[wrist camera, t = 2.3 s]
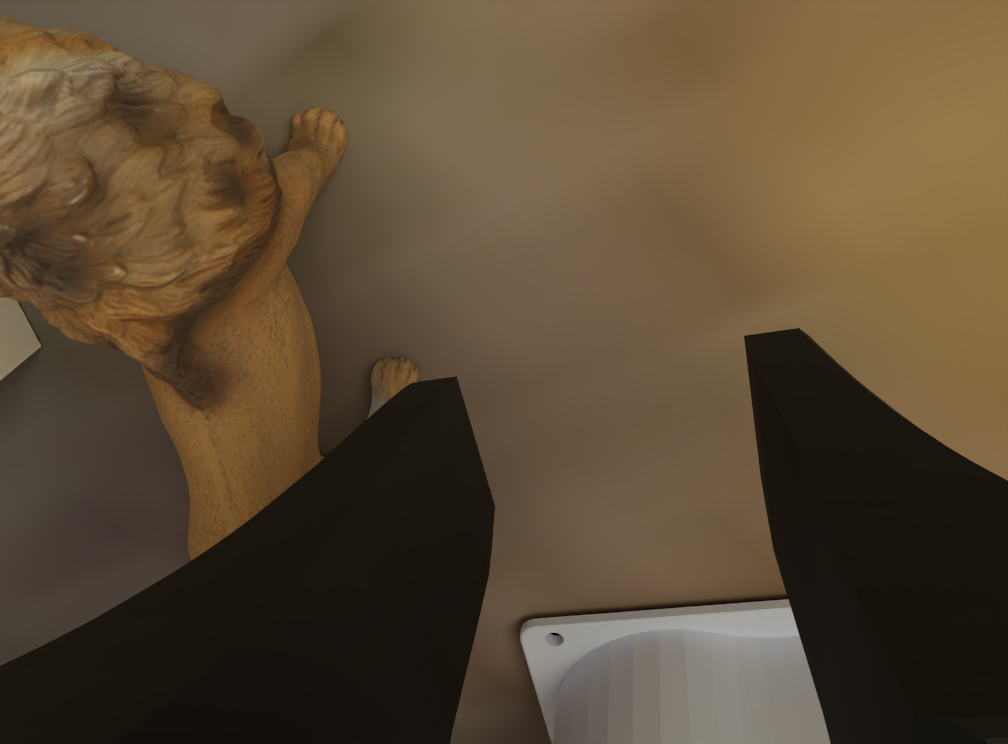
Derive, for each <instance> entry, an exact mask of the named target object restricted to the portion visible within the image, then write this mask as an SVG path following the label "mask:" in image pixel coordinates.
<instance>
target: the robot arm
mask: <svg viewBox="0 0 1008 744" xmlns="http://www.w3.org/2000/svg"><path fill="white" fill-rule="evenodd" d="M744 339H745V347H746V356H747V364H748V373H749V381H750V389H751V398H752V406H753V415H754V423H755V431H756V440H757V448H758V457H759V465H760V474H761V481H762V486H763V492H764V498H765V504H766V510H767V515H768V521H769V527H770V532H771V538H772V544H773V549H774V553H775V556H776V559H777V563H778V566H779V569H780V573H781V576H782V579H783V583H784V586H785V589H786V593H787V596H788V599H785V600H772V601H759V602H746V603H733V604H720V605H707V606H694V607H681V608H668V609H655V610H642V611H629V612H616V613H603V614H590V615H577V616H564V617H551V618H538V619H531V620H528V621H526V622H525V623H524V624H523V625H522V627H521V633H520V642H521V645H522V648H523V651H524V655H525V658H526V661H527V664H528V668H529V671H530V674H531V678H532V681H533V684H534V687H535V691H536V694H537V697H538V700H539V704H540V707H541V710H542V713H543V717H544V720H545V723H546V727H547V730H548V733H549V736H550V740H551V743H552V744H1008V481H1007V480H1005V479H1003V478H1002V477H1000V476H998V475H996V474H994V473H992V472H990V471H989V470H987V469H985V468H983V467H981V466H979V465H977V464H976V463H974V462H972V461H970V460H968V459H967V458H965V457H963V456H962V455H960V454H958V453H957V452H955V451H953V450H952V449H950V448H948V447H947V446H945V445H944V444H942V443H941V442H939V441H938V440H936V439H935V438H933V437H932V436H930V435H929V434H927V433H926V432H924V431H923V430H921V429H920V428H918V427H917V426H915V425H914V424H913V423H911V422H910V421H909V420H907V419H906V418H904V417H903V416H902V415H900V414H899V413H898V412H896V411H895V410H894V409H893V408H891V407H890V406H889V405H888V404H886V403H885V402H884V401H882V400H881V399H880V398H879V397H877V396H876V395H875V394H874V393H872V392H871V391H870V390H868V389H867V388H866V387H865V386H864V385H862V384H861V383H860V382H859V381H858V380H856V379H855V378H854V377H853V376H852V375H851V374H849V373H848V372H847V371H846V370H845V369H844V368H843V367H842V366H840V365H839V364H838V363H837V362H836V361H835V360H834V359H833V358H832V357H831V356H829V355H828V354H827V353H826V352H825V351H824V350H823V349H822V348H821V347H820V346H819V345H818V344H817V343H816V342H815V341H814V340H813V339H812V338H811V337H810V336H808V335H807V334H806V333H804V332H803V331H802V330H800V329H799V328H797V329H790V330H783V331H776V332H769V333H761V334H754V335H747V336H744ZM494 511H495V505H494V501H493V498H492V495H491V491H490V488H489V485H488V481H487V478H486V474H485V471H484V468H483V464H482V461H481V458H480V454H479V451H478V447H477V444H476V441H475V437H474V434H473V430H472V427H471V424H470V420H469V417H468V414H467V410H466V407H465V403H464V400H463V397H462V393H461V390H460V386H459V383H458V380H457V377H450V378H443V379H436V380H429V381H422V382H415V383H410V384H409V385H407V386H406V387H405V388H403V389H402V390H400V391H399V392H398V393H397V394H395V395H394V396H393V397H392V398H391V399H389V400H388V401H387V402H386V403H385V404H384V405H382V406H381V407H380V408H379V409H378V410H377V411H376V412H375V413H373V414H372V415H371V416H370V417H369V418H368V419H367V420H366V421H365V422H363V423H362V424H361V425H360V426H359V427H358V428H357V429H356V430H355V431H354V432H352V433H351V434H350V435H349V436H348V437H347V438H346V439H345V440H343V441H342V442H341V443H340V444H339V445H338V446H337V447H336V448H335V449H333V450H332V451H331V452H330V453H329V454H328V455H327V456H326V457H324V458H323V459H322V460H321V461H320V462H319V463H318V464H317V465H315V466H314V467H313V468H312V469H311V470H310V471H308V472H307V473H306V474H305V475H304V476H302V477H301V478H300V479H299V480H297V481H296V482H295V483H294V484H293V485H291V486H290V487H289V488H288V489H286V490H285V491H284V492H283V493H282V494H280V495H279V496H278V497H277V498H276V499H274V500H273V501H272V502H271V503H269V504H268V505H267V506H266V507H265V508H263V509H262V510H261V511H260V512H258V513H257V514H256V515H255V516H253V517H252V518H251V519H249V520H248V521H247V522H246V523H244V524H243V525H242V526H240V527H239V528H237V529H236V530H235V531H233V532H232V533H231V534H229V535H228V536H226V537H225V538H224V539H222V540H221V541H219V542H218V543H217V544H215V545H214V546H212V547H211V548H209V549H208V550H206V551H205V552H203V553H202V554H200V555H199V556H197V557H196V558H194V559H193V560H192V561H190V562H189V563H187V564H186V565H184V566H183V567H181V568H179V569H178V570H176V571H175V572H173V573H172V574H170V575H169V576H167V577H165V578H163V579H162V580H160V581H158V582H157V583H155V584H153V585H151V586H150V587H148V588H146V589H145V590H143V591H141V592H140V593H138V594H136V595H134V596H133V597H131V598H129V599H128V600H126V601H124V602H122V603H121V604H119V605H117V606H116V607H114V608H112V609H111V610H109V611H107V612H105V613H104V614H102V615H100V616H99V617H97V618H95V619H93V620H91V621H90V622H88V623H86V624H84V625H82V626H80V627H78V628H76V629H74V630H72V631H70V632H69V633H67V634H65V635H63V636H61V637H59V638H57V639H55V640H53V641H51V642H49V643H47V644H45V645H43V646H41V647H39V648H37V649H35V650H33V651H31V652H29V653H27V654H25V655H22V656H20V657H18V658H16V659H14V660H12V661H10V662H8V663H6V664H4V665H2V666H0V744H450V739H451V734H452V729H453V725H454V721H455V716H456V712H457V708H458V704H459V700H460V696H461V691H462V687H463V683H464V679H465V675H466V670H467V666H468V662H469V658H470V654H471V650H472V646H473V641H474V637H475V633H476V629H477V625H478V620H479V616H480V612H481V607H482V603H483V598H484V594H485V590H486V585H487V581H488V576H489V568H490V558H491V549H492V537H493V524H494ZM550 633H558V634H560V635H558V636H556V635H551V634H550Z"/></svg>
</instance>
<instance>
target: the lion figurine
mask: <svg viewBox="0 0 1008 744" xmlns="http://www.w3.org/2000/svg"><path fill="white" fill-rule="evenodd" d="M347 142H348V135H347V129H346V126H345V124H344V123H343V122H342V121H341V120H340V119H339V118H338V117H337V116H336V115H334V114H333V113H332V112H330V111H327V110H324V109H320V108H312V109H309V110H307V111H306V112H302V113H298V114H296V115H294V116H293V119H292V139H291V141H290V142H289V144H288V145H287V147H286V152H285V153H283V154H280V155H278V156H276V157H274V158H272V159H271V158H270V157H269V156H268V154H267V146H266V143H265V141H264V135H263V132H262V130H261V129H260V128H259V127H258V126H256V125H255V124H253V123H251V122H250V121H248V120H247V119H244V118H242V117H238V116H232V115H231V114H230V113H229V111H228V109H227V108H226V106H225V104H224V101H223V98H222V95H221V94H220V93H219V91H218V90H217V89H216V88H215V87H213V86H212V85H210V84H207V83H204V82H201V81H197V80H196V79H194V78H193V77H191V76H187V75H184V74H182V73H181V72H179V71H175V70H170V69H167V68H165V67H164V66H159V65H152V64H146V63H144V62H142V61H141V60H139V59H136V58H133V57H131V56H129V55H127V54H125V53H122V52H120V51H117V49H116V47H115V46H113V45H112V44H108V43H103V42H102V41H100V40H99V39H98V38H96V37H95V36H93V35H91V34H89V33H86V32H82V31H81V32H77V33H75V32H74V31H72V30H70V29H64V28H56V29H46V28H38V27H35V26H32V25H29V24H26V23H23V22H20V21H16V20H13V19H9V18H0V298H10V299H13V300H16V301H20V302H23V303H29V304H31V305H32V306H34V307H35V308H37V309H38V310H39V312H40V313H41V315H42V316H43V318H44V319H45V320H46V321H47V322H48V323H50V324H51V325H53V326H55V327H59V329H60V331H61V332H62V333H63V334H64V335H65V336H66V337H68V338H71V339H73V340H75V341H79V342H84V343H89V344H93V345H99V346H103V347H108V348H112V349H116V350H119V351H121V352H124V353H125V354H126V355H128V356H129V357H131V358H133V359H134V360H136V361H137V362H138V363H140V365H141V367H142V369H143V372H144V375H145V378H146V381H147V384H148V386H149V389H150V391H151V394H152V396H153V399H154V402H155V404H156V407H157V409H158V412H159V415H160V417H161V420H162V422H163V424H164V426H165V428H166V430H167V432H168V433H169V435H170V437H171V439H172V441H173V443H174V445H175V447H176V449H177V451H178V454H179V456H180V459H181V462H182V465H183V468H184V472H185V475H186V479H187V483H188V487H189V496H190V514H189V525H188V542H187V546H188V551H189V556H190V559H191V561H192V560H193V559H194V558H196V557H197V556H199V555H200V554H202V553H203V552H205V551H206V550H208V549H209V548H211V547H212V546H214V545H215V544H217V543H218V542H219V541H221V540H222V539H224V538H225V537H226V536H228V535H229V534H231V533H232V532H233V531H235V530H236V529H237V528H239V527H240V526H242V525H243V524H244V523H246V522H247V521H248V520H249V519H251V518H252V517H253V516H255V515H256V514H257V513H258V512H260V511H261V510H262V509H263V508H265V507H266V506H267V505H268V504H269V503H271V502H272V501H273V500H274V499H276V498H277V497H278V496H279V495H280V494H282V493H283V492H284V491H285V490H286V489H288V488H289V487H290V486H291V485H293V484H294V483H295V482H296V481H297V480H299V479H300V478H301V477H302V476H304V475H305V474H306V473H307V472H308V471H310V470H311V469H312V468H313V467H314V466H315V465H317V464H318V463H319V462H320V461H321V460H322V459H323V458H324V456H322V455H320V453H319V448H318V423H319V410H320V396H321V372H320V362H319V355H318V349H317V343H316V337H315V333H314V329H313V325H312V321H311V318H310V315H309V313H308V310H307V308H306V305H305V303H304V301H303V298H302V296H301V294H300V292H299V289H298V287H297V285H296V283H295V280H294V278H293V276H292V274H291V273H290V271H289V269H288V267H287V264H286V261H287V259H288V257H289V255H290V253H291V252H292V250H293V248H294V247H295V245H296V243H297V240H298V238H299V235H300V232H301V229H302V226H303V223H304V221H305V218H306V216H307V214H308V212H309V210H310V208H311V206H312V204H313V202H314V201H315V198H316V196H317V194H318V193H319V191H320V190H321V188H322V187H323V186H324V184H325V183H326V181H327V180H328V179H329V178H330V176H331V175H332V173H333V172H334V170H335V169H336V167H337V165H338V163H339V162H340V160H341V158H342V156H343V153H344V151H345V149H346V146H347ZM418 379H419V375H418V370H417V368H416V367H415V366H414V365H413V364H412V363H411V362H410V361H408V360H407V359H405V358H400V357H398V358H384V359H381V360H379V361H378V362H377V363H376V365H375V366H374V368H373V371H372V375H371V386H372V403H371V408H370V412H369V415H368V418H369V417H370V416H371V415H372V414H373V413H375V412H376V411H377V410H378V409H379V408H380V407H381V406H382V405H384V404H385V403H386V402H387V401H388V400H389V399H391V398H392V397H393V396H394V395H395V394H397V393H398V392H399V391H400V390H402V389H403V388H405V387H406V386H407V385H409V384H410V383H415V382H418ZM368 418H367V419H368Z"/></svg>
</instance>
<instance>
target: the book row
mask: <svg viewBox="0 0 1008 744" xmlns="http://www.w3.org/2000/svg"><path fill="white" fill-rule="evenodd" d="M40 347H41V344H40V343H39V341H38V339H37V337H36V335H35V333H34V331H33V329H32V328H31V326H30V324H29V322H28V320H27V318H26V316H25V315H24V313H23V311H22V309H21V307H20V305H19V303H18V302H17V301H16V300H13V299H10V298H0V381H1V380H2V379H3V378H4V377H5V376H6V375H8V374H9V373H10V372H11V371H12V370H14V369H15V368H16V367H17V366H18V365H20V364H21V363H22V362H23V361H24V360H26V359H27V358H28V357H29V356H30V355H32V354H33V353H34V352H35V351H36V350H38V349H39V348H40Z"/></svg>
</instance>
